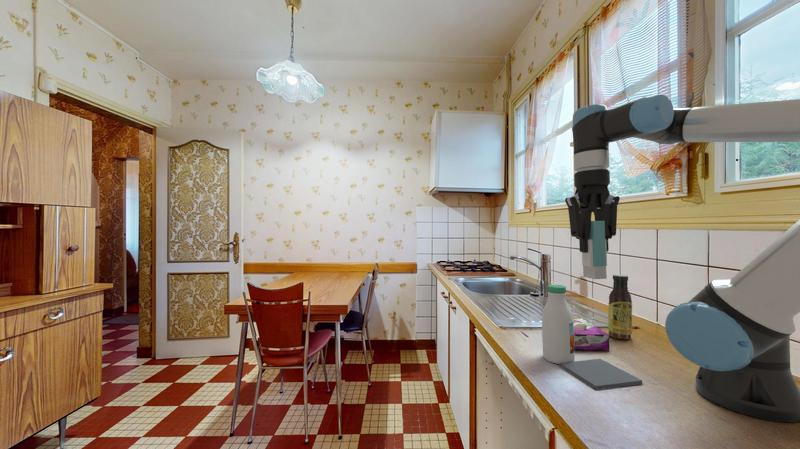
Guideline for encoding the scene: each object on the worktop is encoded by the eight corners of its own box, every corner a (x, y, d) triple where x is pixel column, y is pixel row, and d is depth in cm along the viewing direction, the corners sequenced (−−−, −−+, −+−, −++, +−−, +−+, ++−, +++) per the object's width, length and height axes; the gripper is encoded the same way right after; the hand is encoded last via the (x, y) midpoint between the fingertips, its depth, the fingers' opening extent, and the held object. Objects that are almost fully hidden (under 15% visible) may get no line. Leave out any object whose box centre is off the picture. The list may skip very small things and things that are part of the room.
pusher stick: (606, 278, 76) (604, 220, 76) (595, 279, 75) (593, 221, 76) (594, 276, 80) (592, 221, 80) (583, 276, 79) (581, 221, 80)
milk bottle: (564, 368, 80) (562, 289, 80) (537, 358, 87) (535, 285, 87) (580, 360, 84) (578, 286, 85) (552, 351, 91) (551, 282, 91)
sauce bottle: (613, 340, 98) (611, 276, 98) (605, 333, 104) (603, 273, 105) (637, 341, 97) (635, 276, 97) (627, 334, 103) (625, 273, 103)
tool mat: (642, 383, 72) (642, 380, 72) (596, 389, 69) (596, 386, 70) (600, 361, 83) (600, 358, 83) (559, 366, 81) (559, 363, 81)
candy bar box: (569, 333, 91) (548, 317, 107) (569, 351, 91) (548, 332, 107) (610, 333, 90) (582, 317, 106) (610, 351, 90) (583, 332, 106)
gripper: (608, 173, 83) (611, 262, 82) (552, 173, 80) (555, 265, 80) (633, 167, 75) (636, 265, 75) (572, 167, 73) (575, 268, 73)
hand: (594, 265), depth 78 cm, fingers closed on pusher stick, 3 cm apart
